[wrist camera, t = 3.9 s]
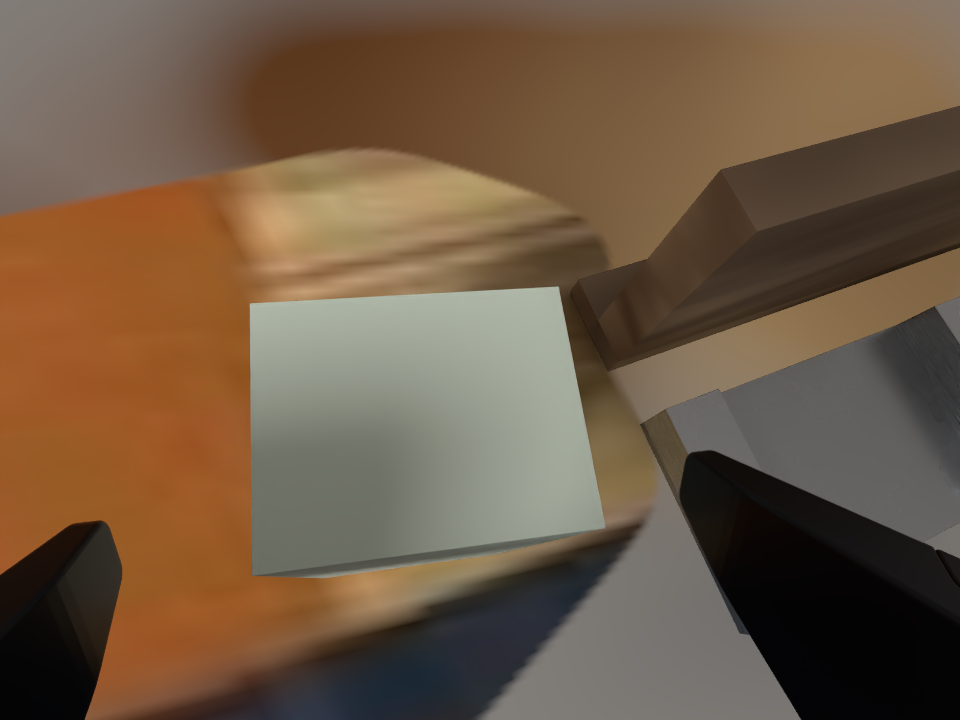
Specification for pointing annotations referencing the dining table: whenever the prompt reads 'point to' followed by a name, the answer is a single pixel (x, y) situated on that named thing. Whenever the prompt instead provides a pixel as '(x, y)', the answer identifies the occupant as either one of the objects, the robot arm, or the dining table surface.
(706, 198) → the wall board
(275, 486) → the sage green block
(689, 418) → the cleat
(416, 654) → the dining table surface
